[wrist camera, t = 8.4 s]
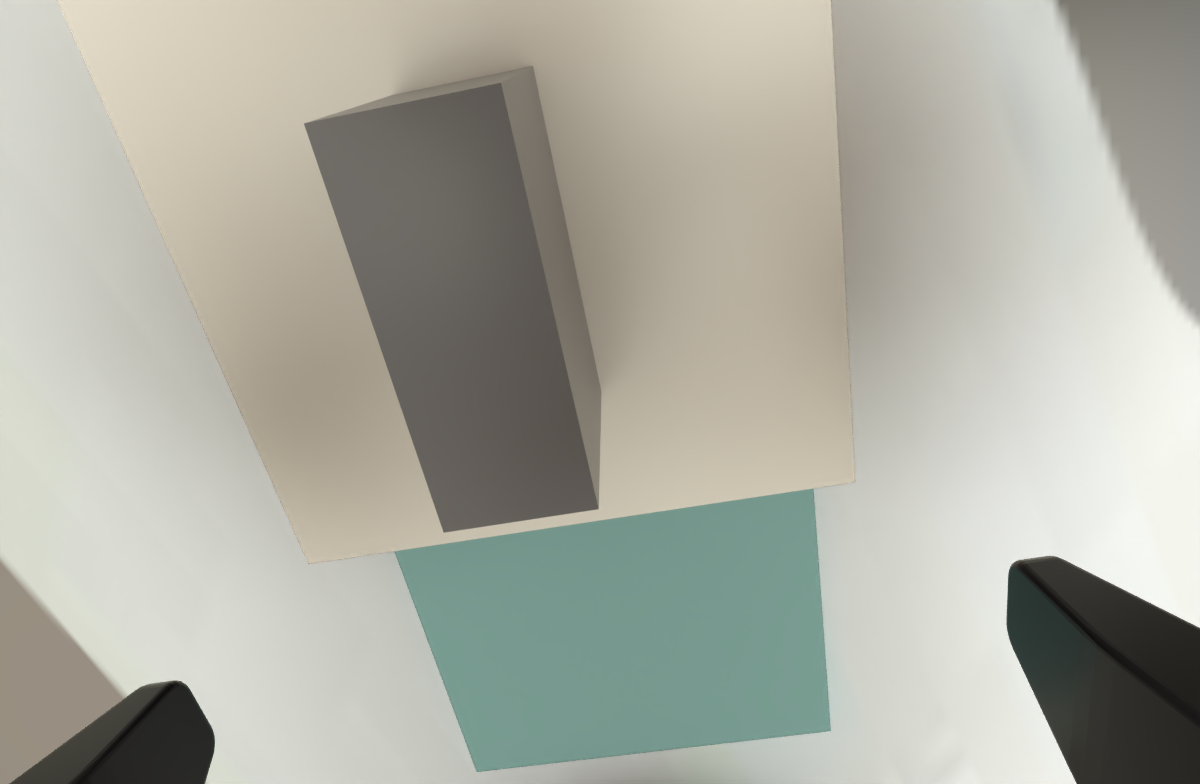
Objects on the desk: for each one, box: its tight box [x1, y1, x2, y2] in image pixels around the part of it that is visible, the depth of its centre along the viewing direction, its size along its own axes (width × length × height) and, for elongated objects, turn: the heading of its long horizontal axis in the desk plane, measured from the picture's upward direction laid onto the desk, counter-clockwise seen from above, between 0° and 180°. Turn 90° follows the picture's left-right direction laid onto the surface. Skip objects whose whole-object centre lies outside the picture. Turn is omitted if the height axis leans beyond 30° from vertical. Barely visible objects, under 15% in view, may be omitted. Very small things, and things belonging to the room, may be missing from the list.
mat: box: [395, 489, 831, 772], centre depth 23 cm, size 12×12×1 cm
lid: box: [57, 0, 855, 564], centre depth 12 cm, size 12×12×5 cm
